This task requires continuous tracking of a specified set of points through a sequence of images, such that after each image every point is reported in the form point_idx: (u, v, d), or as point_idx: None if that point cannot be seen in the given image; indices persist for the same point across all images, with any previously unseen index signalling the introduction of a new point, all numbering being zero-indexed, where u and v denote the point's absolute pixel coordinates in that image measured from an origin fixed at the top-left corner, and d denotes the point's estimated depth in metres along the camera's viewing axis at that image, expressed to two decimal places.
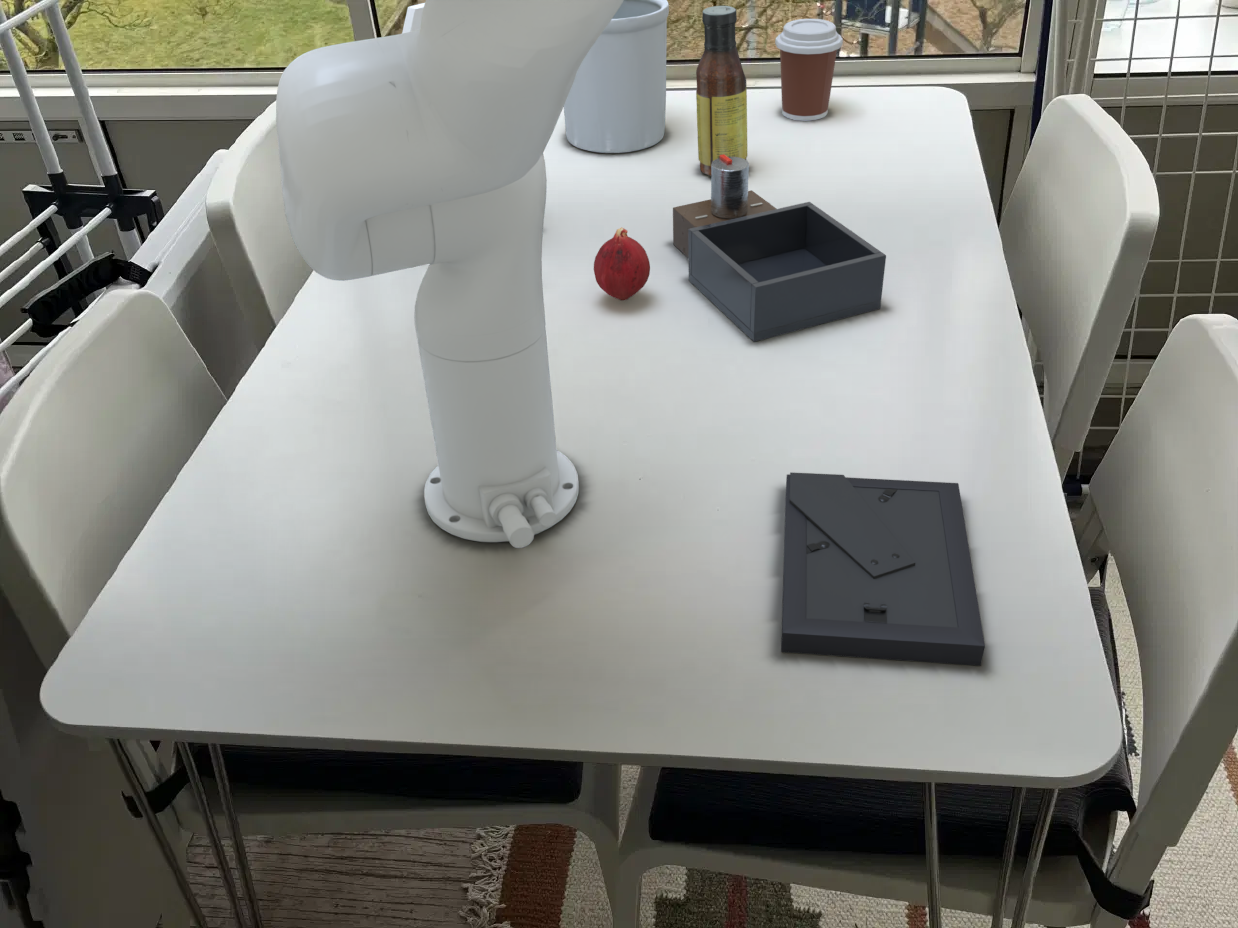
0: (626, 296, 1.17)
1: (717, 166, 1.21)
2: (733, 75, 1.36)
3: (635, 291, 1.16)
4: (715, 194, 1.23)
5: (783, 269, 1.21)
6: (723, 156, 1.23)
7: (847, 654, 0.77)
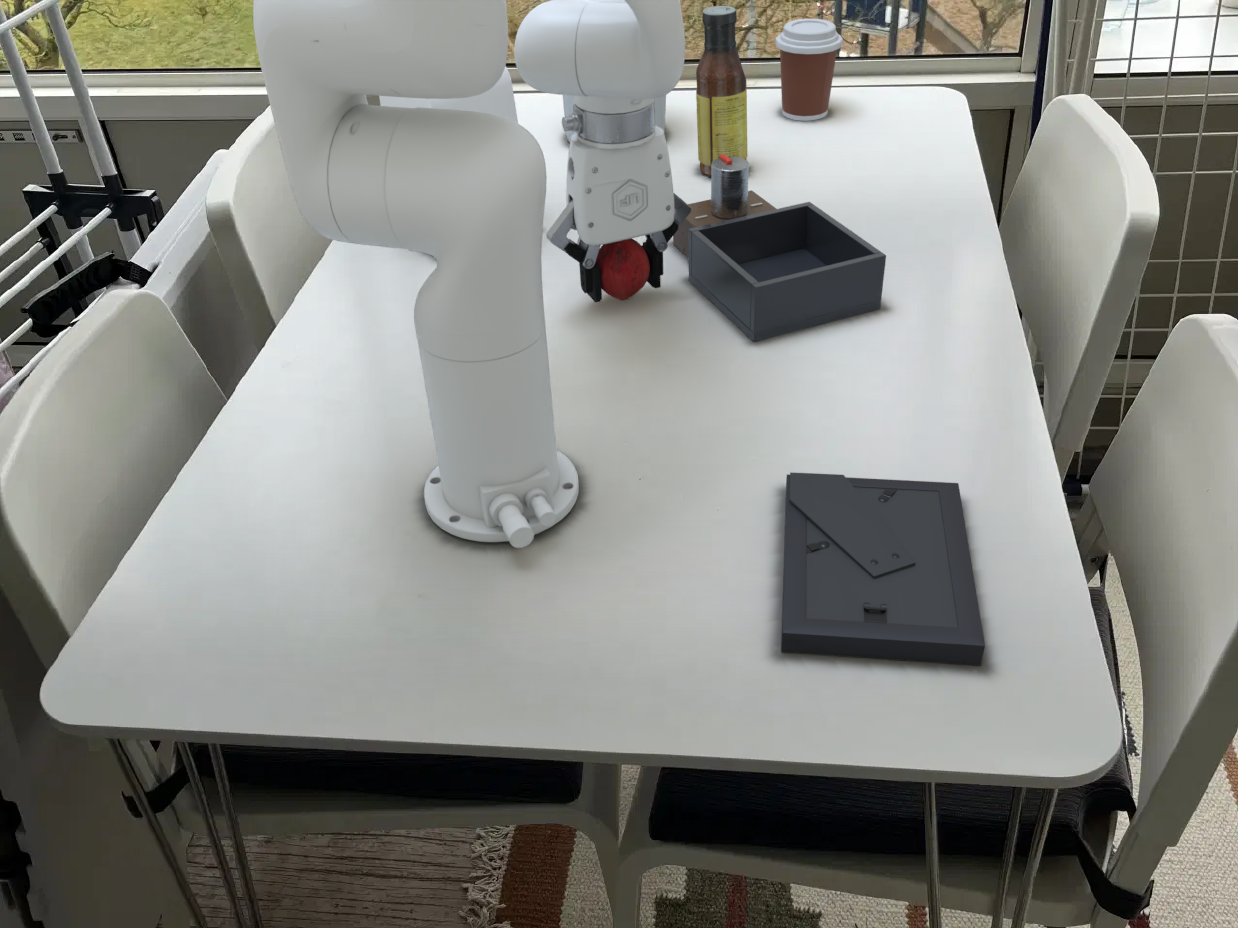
0: (626, 296, 1.17)
1: (717, 166, 1.21)
2: (733, 75, 1.36)
3: (635, 291, 1.16)
4: (715, 194, 1.23)
5: (783, 269, 1.21)
6: (723, 156, 1.23)
7: (847, 654, 0.77)
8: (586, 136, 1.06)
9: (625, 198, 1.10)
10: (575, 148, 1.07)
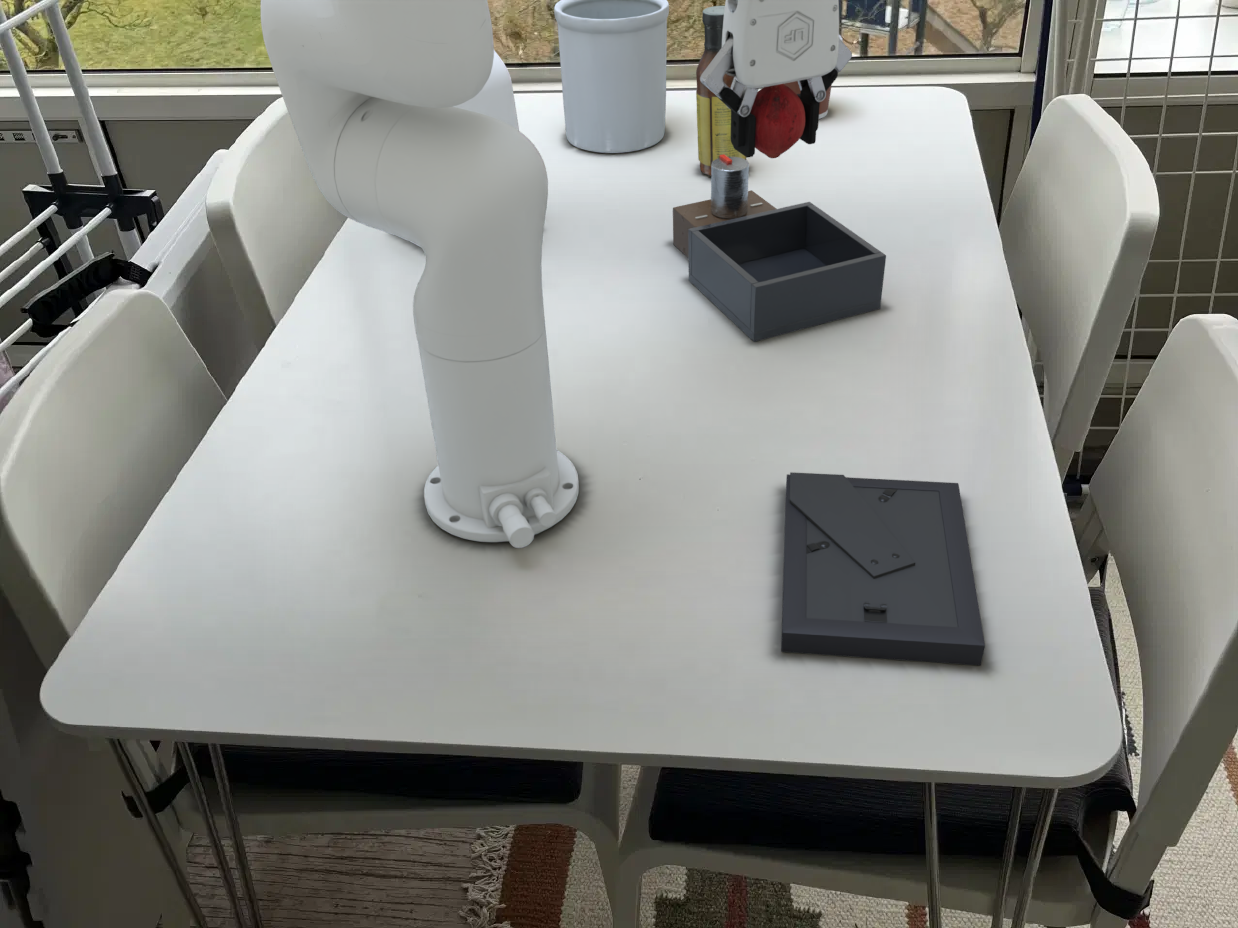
0: (780, 151, 1.08)
1: (717, 166, 1.21)
2: None
3: (790, 145, 1.07)
4: (715, 194, 1.23)
5: (783, 269, 1.21)
6: (723, 156, 1.23)
7: (847, 654, 0.77)
8: None
9: (790, 33, 1.00)
10: None
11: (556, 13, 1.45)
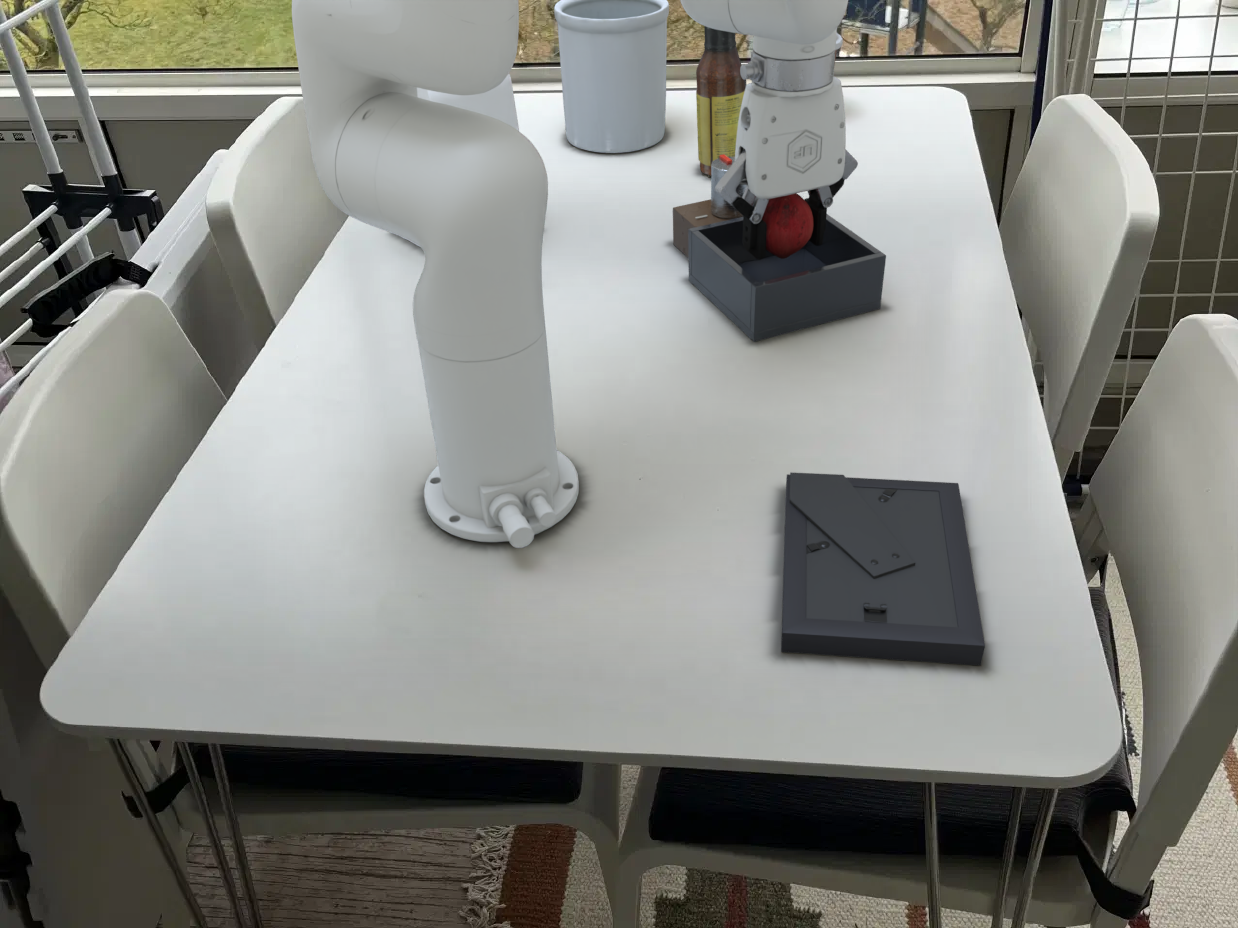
0: (789, 253, 1.14)
1: (717, 166, 1.21)
2: (733, 75, 1.36)
3: (799, 248, 1.14)
4: (715, 194, 1.23)
5: (783, 269, 1.21)
6: (723, 156, 1.23)
7: (847, 654, 0.77)
8: (766, 84, 1.03)
9: (799, 150, 1.07)
10: (752, 97, 1.04)
11: (556, 13, 1.45)
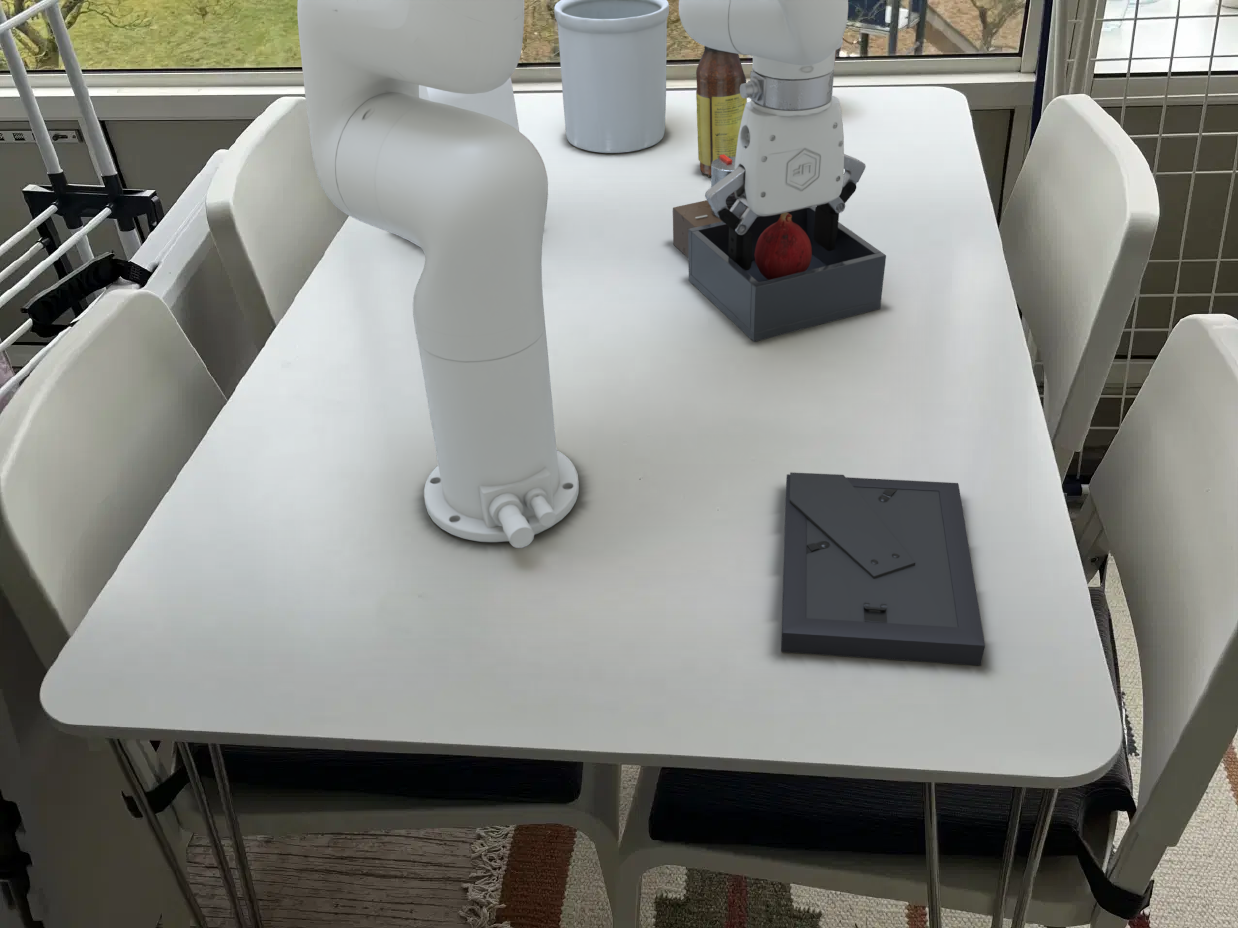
0: None
1: (717, 166, 1.21)
2: (733, 75, 1.36)
3: None
4: None
5: None
6: (723, 156, 1.23)
7: (847, 654, 0.77)
8: (765, 103, 1.04)
9: (798, 168, 1.08)
10: (752, 116, 1.05)
11: (556, 13, 1.45)
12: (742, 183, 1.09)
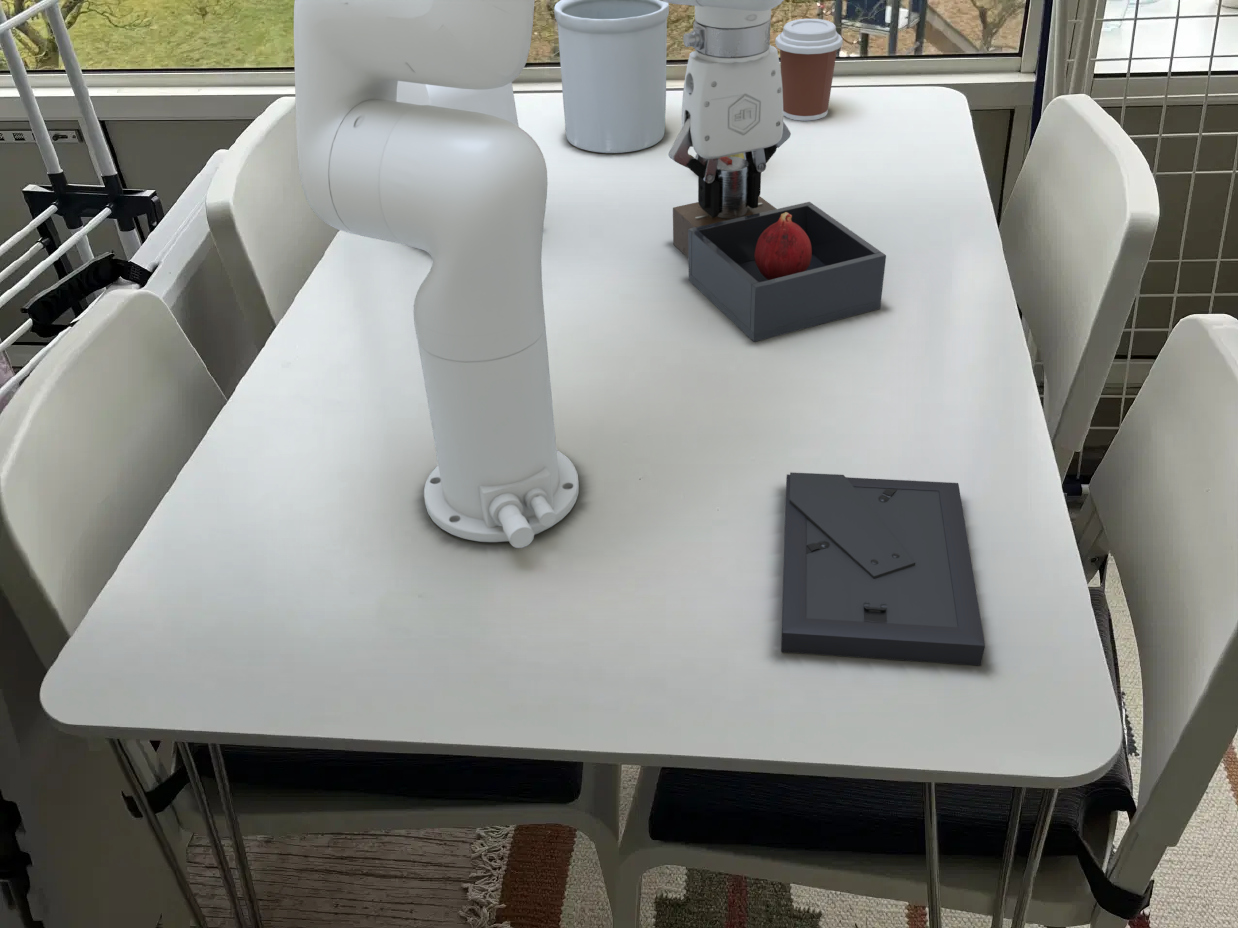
0: None
1: (717, 166, 1.21)
2: None
3: None
4: None
5: None
6: None
7: (847, 654, 0.77)
8: (706, 51, 1.12)
9: (739, 113, 1.16)
10: (695, 64, 1.13)
11: (556, 13, 1.45)
12: (688, 128, 1.17)
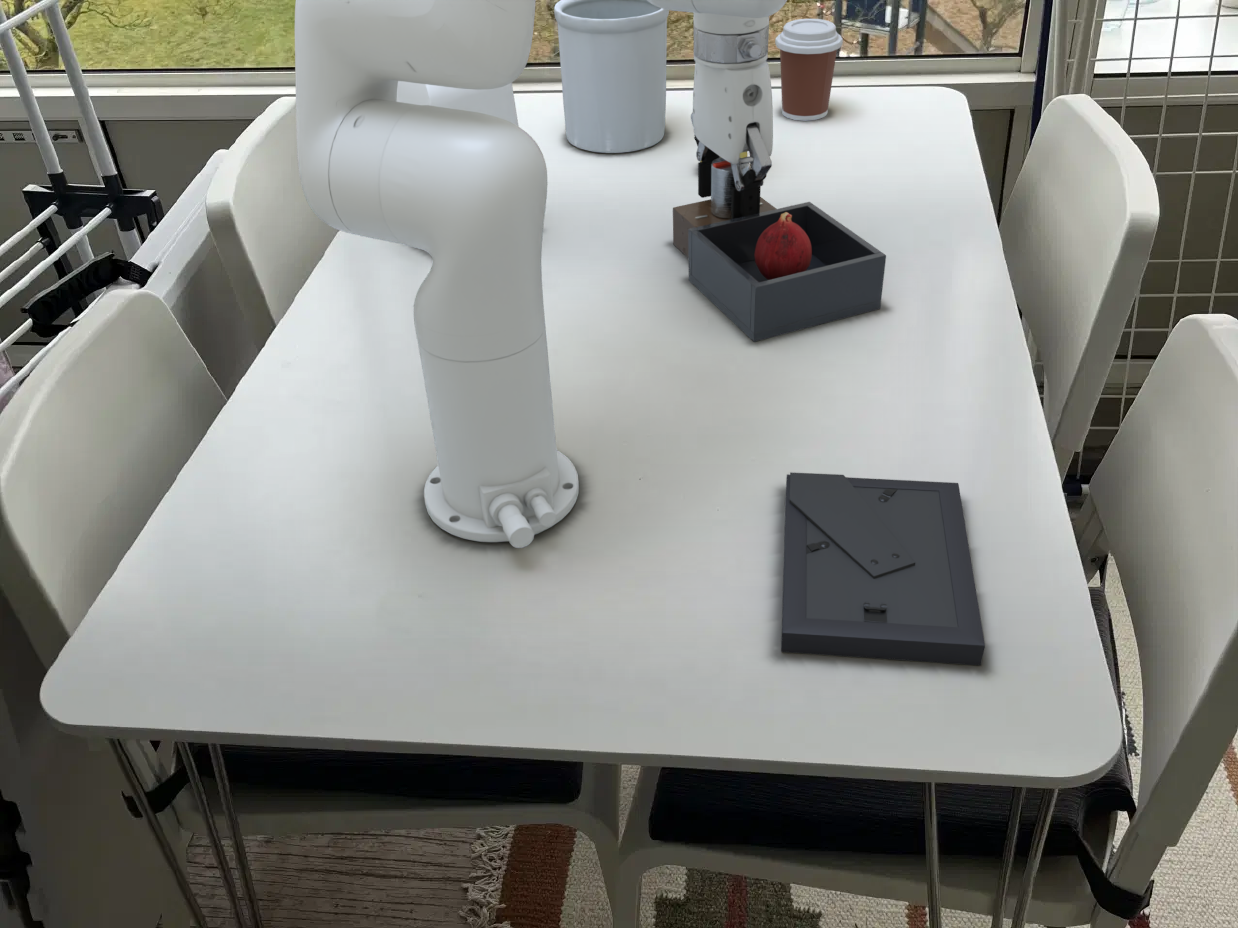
0: None
1: None
2: None
3: None
4: None
5: None
6: (719, 163, 1.21)
7: (847, 654, 0.77)
8: (759, 55, 1.12)
9: None
10: (758, 71, 1.12)
11: (556, 13, 1.45)
12: None
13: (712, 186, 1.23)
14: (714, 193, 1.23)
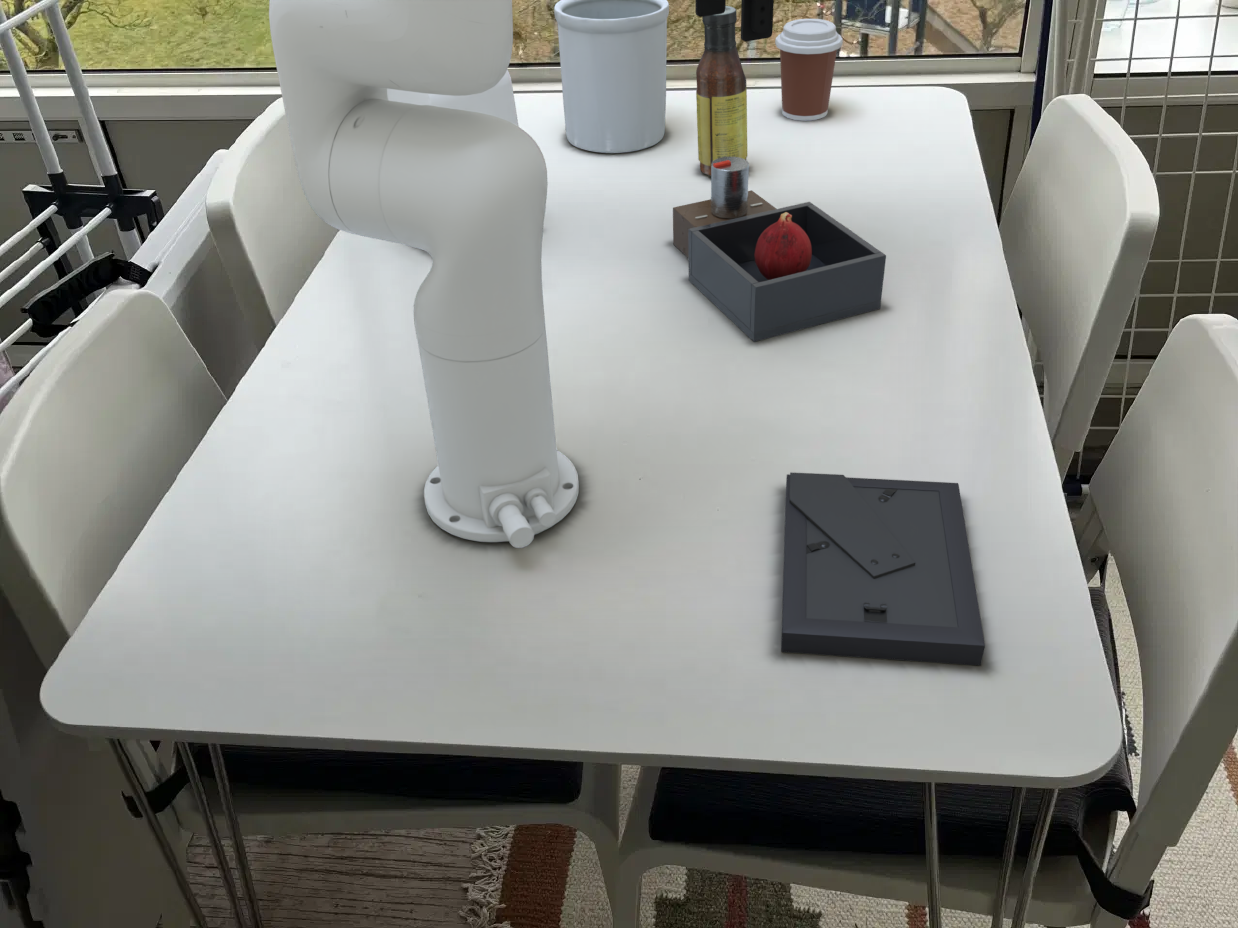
0: None
1: (739, 168, 1.21)
2: (733, 75, 1.36)
3: None
4: (742, 194, 1.22)
5: None
6: (719, 163, 1.21)
7: (847, 654, 0.77)
8: None
9: None
10: None
11: (556, 13, 1.45)
12: None
13: (712, 186, 1.23)
14: (714, 193, 1.23)
